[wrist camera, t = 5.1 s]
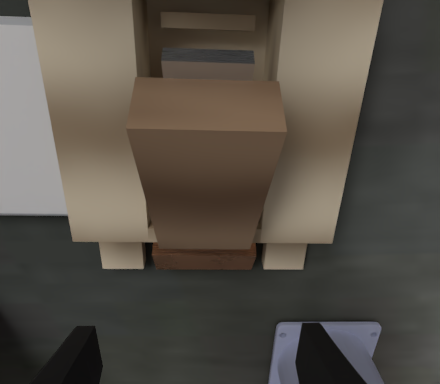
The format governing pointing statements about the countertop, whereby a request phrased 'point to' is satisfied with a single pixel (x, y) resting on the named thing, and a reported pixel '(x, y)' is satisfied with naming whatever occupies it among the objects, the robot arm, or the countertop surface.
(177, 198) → the walnut block
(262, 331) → the countertop surface
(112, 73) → the pocket board
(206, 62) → the lever
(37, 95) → the grey pad
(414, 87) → the countertop surface
